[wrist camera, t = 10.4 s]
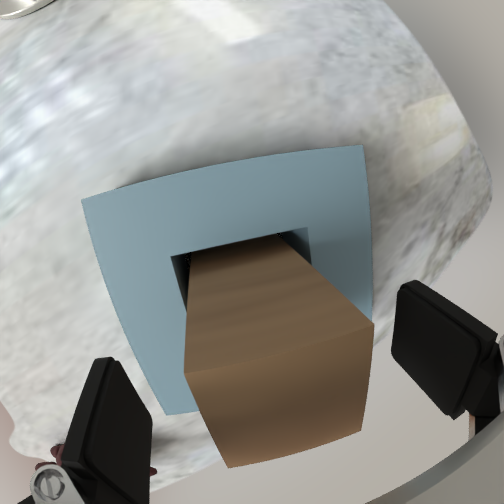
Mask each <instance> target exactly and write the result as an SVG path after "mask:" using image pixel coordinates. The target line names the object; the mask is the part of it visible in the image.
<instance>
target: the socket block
mask: <svg viewBox="0 0 504 504" xmlns="http://www.w3.org/2000/svg"><path fill="white" fill-rule="evenodd" d="M81 202H82V206H83V210H84V214H85V218H86V222H87V226H88V229H89V233H90V237H91V240H92V244H93V247H94V250H95V254H96V257H97V260H98V263H99V266H100V269H101V272H102V275H103V278H104V281H105V284H106V287H107V290H108V292H109V295H110V298H111V300H112V303H113V306H114V308H115V311H116V313H117V316H118V318H119V321H120V323H121V325H122V328H123V330H124V333H125V335H126V337H127V339H128V342H129V344H130V346H131V348H132V351H133V353H134V355H135V357H136V359H137V361H138V363H139V365H140V367H141V369H142V371H143V373H144V375H145V377H146V379H147V381H148V383H149V385H150V387H151V389H152V391H153V393H154V395H155V396H156V398H157V400H158V402H159V404H160V405H161V407H162V409H163V411H164V412H165V414H166V415H175V414H182V413H189V412H196V411H199V408H198V406H197V404H196V402H195V399H194V397H193V395H192V393H191V390H190V388H189V386H188V383H187V381H186V378H185V376H184V351H185V332H186V315H187V301H188V288H189V276H190V275H189V271H188V267H187V263H186V259H185V255H184V253H188V252H192V251H197V250H201V249H206V248H210V247H215V246H219V245H224V244H229V243H233V242H238V241H242V240H247V239H252V238H256V237H261V236H266V235H270V234H275V233H280V232H282V235H283V240H284V241H285V242H286V243H287V244H288V245H289V246H291V247H292V248H293V249H294V250H295V251H296V252H297V253H298V254H299V255H301V256H302V257H303V258H304V259H305V260H306V261H307V262H308V263H309V264H310V265H312V266H313V267H314V268H315V269H316V270H317V271H318V272H319V273H320V274H321V275H322V276H324V277H325V278H326V279H327V280H328V281H329V282H330V283H331V284H332V285H333V286H334V287H335V288H336V289H338V290H339V291H340V292H341V293H342V294H343V295H344V296H345V297H346V298H347V299H348V300H349V301H350V302H351V303H352V304H354V305H355V306H356V307H357V308H358V309H359V310H360V311H361V312H362V313H363V314H364V315H365V316H366V317H367V318H368V319H369V320H370V321H371V322H372V289H373V272H372V236H371V218H370V204H369V193H368V182H367V173H366V165H365V157H364V150H363V145H354V146H342V147H331V148H322V149H313V150H304V151H296V152H289V153H281V154H275V155H268V156H262V157H255V158H249V159H244V160H238V161H232V162H227V163H222V164H217V165H212V166H207V167H202V168H197V169H193V170H188V171H184V172H179V173H175V174H171V175H167V176H163V177H158V178H154V179H151V180H147V181H143V182H139V183H135V184H132V185H128V186H125V187H121V188H118V189H114V190H111V191H107V192H104V193H101V194H98V195H94V196H91V197H88V198H85V199H82V200H81Z"/></svg>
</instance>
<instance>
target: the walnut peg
mask: <svg viewBox="0 0 504 504" xmlns="http://www.w3.org/2000/svg"><path fill="white" fill-rule="evenodd" d="M373 338H374V323H372V322H371V321H370V320H369V319H368V318H367V317H366V316H365V315H364V314H363V313H362V312H361V311H360V310H359V309H358V308H357V307H356V306H355V305H354V304H352V303H351V302H350V301H349V300H348V299H347V298H346V297H345V296H344V295H343V294H342V293H341V292H340V291H339V290H338V289H336V288H335V287H334V286H333V285H332V284H331V283H330V282H329V281H328V280H327V279H326V278H325V277H324V276H322V275H321V274H320V273H319V272H318V271H317V270H316V269H315V268H314V267H313V266H312V265H310V264H309V263H308V262H307V261H306V260H305V259H304V258H303V257H302V256H301V255H299V254H298V253H297V252H296V251H295V250H294V249H293V248H292V247H291V246H289V245H288V244H287V243H286V242H285V241H284V240H283V239H282V238H281V237H279V236H278V235H277V234H276V233H275V234H270V235H266V236H261V237H256V238H252V239H247V240H242V241H238V242H233V243H229V244H224V245H219V246H215V247H210V248H206V249H201V250H197V251H192V254H191V265H190V276H189V288H188V301H187V315H186V332H185V351H184V376H185V378H186V381H187V383H188V386H189V388H190V390H191V393H192V395H193V397H194V399H195V402H196V404H197V406H198V408H199V411H200V413H201V415H202V417H203V419H204V422H205V424H206V426H207V428H208V430H209V432H210V434H211V436H212V438H213V440H214V442H215V444H216V446H217V448H218V450H219V452H220V454H221V456H222V458H223V460H224V461H225V463H226V465H227V467H228V468H233V467H238V466H244V465H249V464H254V463H258V462H263V461H267V460H272V459H276V458H280V457H284V456H288V455H291V454H295V453H298V452H302V451H305V450H308V449H312V448H315V447H318V446H321V445H324V444H327V443H330V442H333V441H335V440H338V439H341V438H343V437H346V436H349V435H351V434H354V433H356V432H359V431H361V428H362V422H363V417H364V411H365V405H366V399H367V392H368V385H369V377H370V368H371V360H372V349H373Z"/></svg>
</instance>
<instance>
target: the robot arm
mask: <svg viewBox="0 0 504 504" xmlns="http://www.w3.org/2000/svg"><path fill="white" fill-rule="evenodd" d="M52 1H53V0H0V18H1V19H14V18H18V17H22V16H24V15H27V14H29V13H32V12H34V11H35V10H37V9H39V8H41V7H43V6H45V5H47V4H48V3H50V2H52ZM497 335H498V334H497V333H496V332H495V331H493V330H492V329H490V328H489V327H488V326H486V325H485V324H483V323H482V322H480V321H479V320H478V319H476V318H475V317H473V316H472V315H470V314H469V313H467V312H466V311H464V310H463V309H461V308H460V307H458V306H457V305H455V304H454V303H452V302H451V301H449V300H448V299H446V298H445V297H443V296H442V295H440V294H438V293H437V292H435V291H434V290H432V289H431V288H429V287H428V286H426V285H424V284H423V283H421V282H420V281H418V280H413V281H410V282H407V283H405V284H402V285H401V287H400V290H399V291H398V292H397V301H396V313H395V322H394V331H393V339H392V346H391V354H392V356H393V358H394V359H395V361H396V362H397V363H398V364H399V365H400V366H401V367H402V368H403V369H404V370H405V371H406V372H407V373H408V375H409V376H410V377H411V378H412V379H413V380H414V381H415V382H416V383H417V384H418V385H419V387H420V388H421V389H422V390H423V391H424V392H425V393H426V394H427V395H428V397H429V398H430V399H431V400H432V401H433V402H434V403H435V404H436V405H437V407H438V408H439V409H440V410H441V411H442V412H443V413H444V414H445V415H449V416H450V417H451V418H452V419H453V420H455V419H456V418H458V417H459V416H460V415H461V414H463V413H464V412H465V410H467V411H468V412H469V441H468V442H467V443H466V444H465V445H463V446H462V447H460V448H459V449H458V450H456V451H455V452H454V453H452V454H451V455H450V456H448V457H447V458H445V459H444V460H442V461H441V462H439V463H438V464H436V465H435V466H433V467H432V468H430V469H429V470H427V471H426V472H424V473H422V474H421V475H419V476H417V477H416V478H414V479H412V480H411V481H409V482H407V483H405V484H403V485H402V486H400V487H398V488H396V489H394V490H392V491H390V492H388V493H386V494H384V495H382V496H380V497H378V498H376V499H374V500H372V501H370V502H367V503H365V504H504V335H503V336H502V337H501V338H500V341H499V344H498V343H496V342H495V341H496V338H497ZM152 425H153V423H152V417H151V415H150V413H149V412H148V410H147V408H146V407H145V405H144V404H143V402H142V400H141V399H140V397H139V395H138V394H137V392H136V390H135V388H134V387H133V385H132V383H131V381H130V380H129V378H128V376H127V374H126V372H125V370H124V369H123V367H122V365H121V363H120V362H119V361H115V360H114V358H112V357H105V358H98V359H95V360H94V362H93V364H92V367H91V369H90V372H89V374H88V377H87V380H86V382H85V385H84V388H83V390H82V393H81V396H80V399H79V401H78V404H77V407H76V410H75V413H74V416H73V419H72V422H71V425H70V428H69V432H68V435H67V438H66V441H65V445H64V448H63V452H62V456H61V459H60V460H61V461H62V463H61V467H59V466H57V465H53V464H50V465H45V466H42V467H40V468H39V469H38V470H36V472H35V473H34V474H33V476H32V478H31V481H30V490H31V494H32V495H30V496H29V497H27V498H26V499H24V500H23V501H21V502H19V503H18V504H149V489H150V457H151V439H152Z"/></svg>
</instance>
